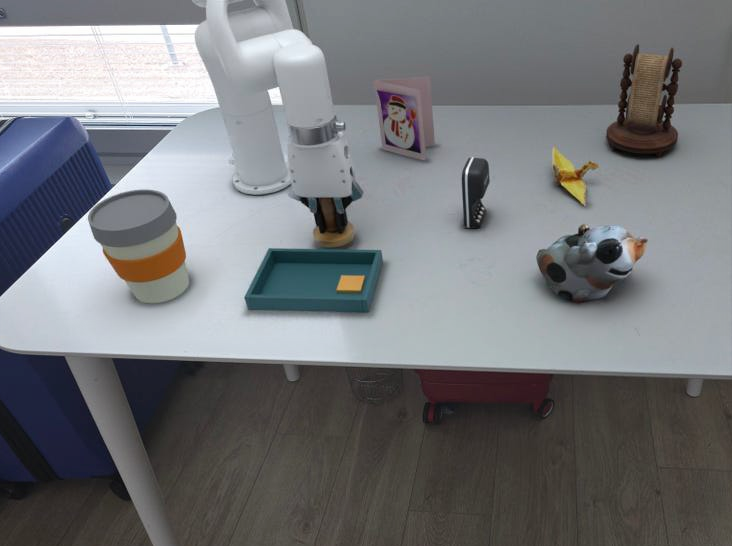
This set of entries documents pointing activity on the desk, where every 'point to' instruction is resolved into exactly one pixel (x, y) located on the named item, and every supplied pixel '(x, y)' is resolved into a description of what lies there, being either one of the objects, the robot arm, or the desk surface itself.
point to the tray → (313, 280)
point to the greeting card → (405, 115)
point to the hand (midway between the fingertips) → (332, 228)
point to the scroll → (646, 105)
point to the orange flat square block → (350, 284)
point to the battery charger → (474, 191)
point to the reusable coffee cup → (142, 243)
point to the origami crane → (571, 175)
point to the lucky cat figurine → (590, 261)
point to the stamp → (332, 228)
